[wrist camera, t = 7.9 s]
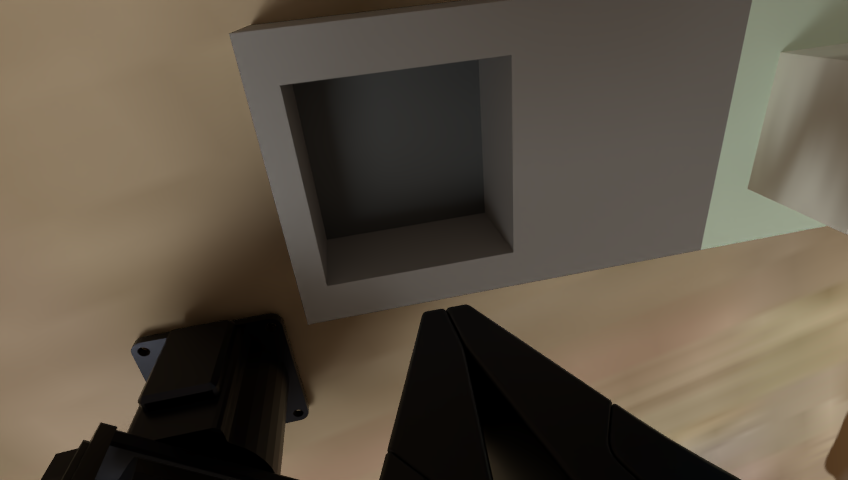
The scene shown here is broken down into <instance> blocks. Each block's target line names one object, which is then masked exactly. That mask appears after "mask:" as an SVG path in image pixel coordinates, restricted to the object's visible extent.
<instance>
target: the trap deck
mask: <svg viewBox="0 0 848 480" xmlns="http://www.w3.org/2000/svg"><path fill="white" fill-rule="evenodd" d="M229 35H230V39H231V42H232V46H233V50H234V53H235V57H236V61H237V64H238V68H239V72H240V75H241V79H242V83H243V86H244V90H245V94H246V98H247V101H248V105H249V109H250V112H251V116H252V120H253V123H254V127H255V131H256V134H257V138H258V142H259V146H260V149H261V153H262V157H263V160H264V164H265V168H266V171H267V175H268V179H269V182H270V186H271V190H272V194H273V197H274V201H275V205H276V208H277V212H278V216H279V219H280V223H281V227H282V230H283V234H284V238H285V241H286V245H287V249H288V253H289V256H290V260H291V264H292V267H293V271H294V275H295V278H296V282H297V286H298V289H299V293H300V297H301V301H302V304H303V308H304V312H305V315H306V319H307V323H308V325H309V324H314V323H319V322H324V321H330V320H335V319H340V318H345V317H351V316H356V315H361V314H366V313H372V312H377V311H382V310H387V309H393V308H398V307H403V306H408V305H414V304H419V303H424V302H429V301H435V300H440V299H445V298H451V297H456V296H461V295H466V294H472V293H477V292H482V291H487V290H493V289H498V288H503V287H508V286H514V285H519V284H524V283H529V282H535V281H540V280H545V279H550V278H556V277H561V276H566V275H571V274H577V273H582V272H587V271H592V270H598V269H603V268H608V267H613V266H619V265H624V264H629V263H635V262H640V261H645V260H650V259H656V258H661V257H666V256H671V255H677V254H682V253H687V252H692V251H698V250H703V249H708V248H713V247H719V246H724V245H729V244H734V243H740V242H745V241H750V240H755V239H761V238H766V237H771V236H776V235H782V234H787V233H792V232H797V231H803V230H808V229H813V228H819V227H824V226H827V225H825V224H823V223H821V222H818V221H816V220H814V219H812V218H810V217H808V216H805V215H803V214H801V213H799V212H797V211H795V210H792V209H790V208H788V207H786V206H784V205H781V204H779V203H777V202H775V201H773V200H771V199H768V198H766V197H764V196H762V195H760V194H758V193H755V192H753V191H751V190H749V189H747V188H748V184H749V180H750V176H751V172H752V168H753V164H754V160H755V155H756V151H757V147H758V143H759V139H760V135H761V131H762V127H763V122H764V118H765V114H766V110H767V106H768V102H769V98H770V94H771V89H772V85H773V81H774V77H775V73H776V69H777V65H778V61H779V56H780V52H786V51H793V50H800V49H807V48H814V47H821V46H828V45H835V44H842V43H848V0H462V1H454V2H445V3H436V4H428V5H419V6H411V7H402V8H394V9H385V10H377V11H368V12H360V13H351V14H343V15H334V16H326V17H317V18H308V19H300V20H291V21H283V22H274V23H266V24H257V25H250V26H247V27H245V28H242V29H239V30H237V31H234V32H232V33H229Z"/></svg>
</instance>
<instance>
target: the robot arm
mask: <svg viewBox="0 0 848 480" xmlns="http://www.w3.org/2000/svg"><path fill="white" fill-rule="evenodd" d="M269 323H273V324H275V325H276V326H274V327H270V326H268V325H267V324H269ZM141 347H145V348H148V349H149V350H143V349H142V348H141ZM131 353H132V355H133V357H134V359H135V361H136V363H137V365H138V367H139V369H140V371H141V373H142V375H143V377H144V379H145V381H146V384H145V386H144V388H143V390H142V392H141V395H140V397H139V399H138V403H139V407H138V410H137V412H136V414H135V416H134V418H133V421H132V423H131V425H130V427H129V429H128V432H127V433H126V432H122V431H118V430H116V429H117V427H116V426H112V425H109V424H105V423H100V425H99V426H98V428H97V430H96V432H95V433H94V435H93V437H92V439H91V440H90V441H86V440H83V442H82V443H81V445H80V446H79V448H78V449H74V450H70V451H66V452H62V453H58V454H56V455H55V457H54V458H53V460H52V462H51V463H50V465H49V467H48V468H47V470H46V472H45V474H44V475H43V477H42V479H41V480H298V479H294V478H291V477H287V476H283V475H280V474H281V464H282V453H283V443H284V432H285V423H289V422H294V421H298V420H302V419H304V418H306V417H307V415H308V410H309V405H308V402H307V398H306V395H305V392H304V388H303V385H302V382H301V378H300V375H299V372H298V368H297V365H296V362H295V358H294V355H293V352H292V348H291V345H290V342H289V339H288V335H287V332H286V329H285V325H284V322H283V319H282V318H281V317H280V316H279V315H277V314H265V315H259V316H254V317H248V318H243V319H238V320H232V321H229V320H225V321H220V322H214V323H209V324H203V325H198V326H193V327H187V328H182V329H176V330H172V331H171V332H168V333H162V334H157V335H152V336H146V337H142V338H139V339H137V340H136V341H135V343H134V345H133V347H132V349H131ZM296 410H300V411H296ZM379 480H741V479H739V478H737V477H736V476H734V475H732V474H730V473H728V472H727V471H725V470H723V469H721V468H719V467H718V466H716V465H714V464H712V463H710V462H709V461H707V460H705V459H703V458H702V457H700V456H698V455H697V454H695V453H693V452H691V451H690V450H688V449H686V448H685V447H683V446H681V445H679V444H678V443H676V442H674V441H673V440H671V439H669V438H668V437H666V436H664V435H663V434H661V433H660V432H658V431H657V430H655V429H653V428H652V427H650V426H649V425H647V424H646V423H644V422H643V421H641V420H639V419H638V418H636V417H635V416H633V415H632V414H630V413H629V412H627V411H626V410H624V409H623V408H621V407H620V406H618V405H617V404H613V405H612V402H611V400H609V399H608V398H606V397H605V396H603V395H602V394H600V393H599V392H597V391H596V390H594V389H593V388H591V387H590V386H588V385H587V384H585V383H584V382H582V381H581V380H579V379H578V378H577V377H575V376H574V375H572V374H571V373H569V372H568V371H566V370H565V369H563V368H562V367H560V366H559V365H557V364H556V363H554V362H553V361H551V360H550V359H548V358H547V357H545V356H544V355H542V354H541V353H539V352H538V351H536V350H535V349H533V348H532V347H530V346H529V345H527V344H526V343H525V342H523V341H522V340H520V339H519V338H517V337H516V336H514V335H513V334H511V333H510V332H508V331H507V330H505V329H504V328H502V327H501V326H499V325H498V324H496V323H495V322H493V321H492V320H490V319H489V318H487V317H486V316H484V315H483V314H481V313H480V312H478V311H477V310H475V309H474V308H473V307H471V306H469V305H460V306H455V307H449V308H448V309H447V310H446V311H445V310H444V309H438V310H432V311H427V312H424V313H423V315H422V318H421V322H420V326H419V330H418V334H417V338H416V341H415V345H414V349H413V353H412V357H411V361H410V365H409V369H408V372H407V376H406V380H405V384H404V388H403V392H402V396H401V400H400V403H399V407H398V411H397V415H396V419H395V423H394V427H393V430H392V434H391V438H390V442H389V446H388V453H387V454H386V456H385V460H384V464H383V468H382V472H381V476H380V479H379Z"/></svg>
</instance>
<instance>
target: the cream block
mask: <svg viewBox="0 0 848 480" xmlns="http://www.w3.org/2000/svg"><path fill="white" fill-rule="evenodd" d="M747 189H749V190H751V191H753V192H755V193H758V194H760V195H762V196H764V197H766V198H768V199H771V200H773V201H775V202H777V203H779V204H781V205H784V206H786V207H788V208H790V209H792V210H795V211H797V212H799V213H801V214H803V215H805V216H808V217H810V218H812V219H814V220H816V221H818V222H821V223H823V224H825V225H827V226H829V227H831V228H834V229H836V230H838V231H840V232H842V233H845V234H848V43H842V44H835V45H828V46H821V47H814V48H807V49H800V50H793V51H786V52H780V56H779V61H778V65H777V69H776V73H775V77H774V81H773V85H772V89H771V94H770V98H769V102H768V106H767V110H766V114H765V118H764V122H763V127H762V131H761V135H760V139H759V143H758V147H757V151H756V155H755V160H754V164H753V168H752V172H751V176H750V180H749V184H748V188H747Z"/></svg>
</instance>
